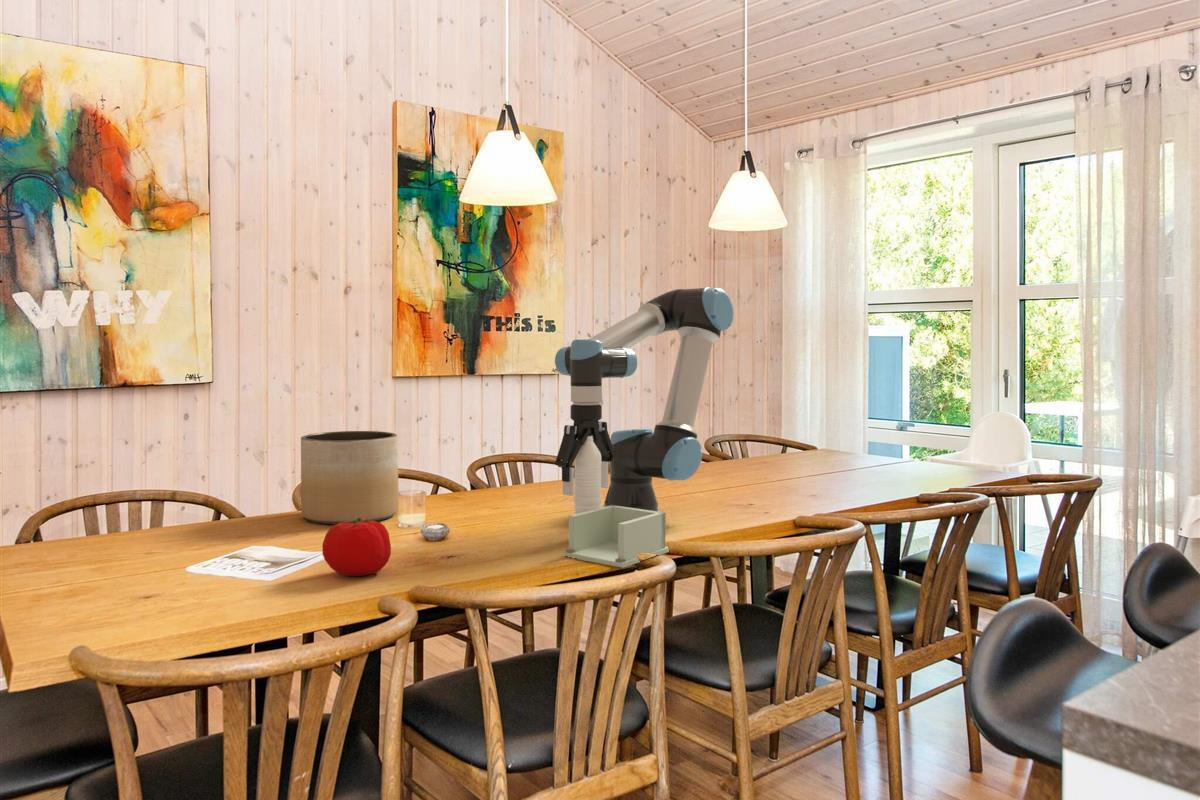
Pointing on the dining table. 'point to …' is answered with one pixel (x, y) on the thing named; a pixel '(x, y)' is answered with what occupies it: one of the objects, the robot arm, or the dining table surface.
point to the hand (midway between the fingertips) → (586, 491)
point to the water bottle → (587, 477)
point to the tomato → (357, 547)
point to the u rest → (616, 535)
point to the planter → (349, 476)
